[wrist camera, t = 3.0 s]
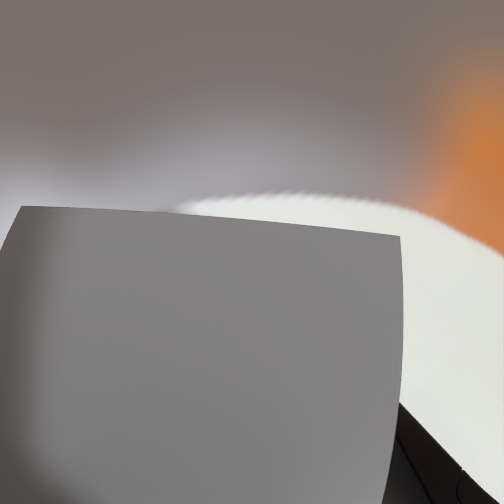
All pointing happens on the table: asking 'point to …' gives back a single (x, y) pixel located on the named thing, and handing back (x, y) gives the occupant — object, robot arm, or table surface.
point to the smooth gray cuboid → (196, 360)
